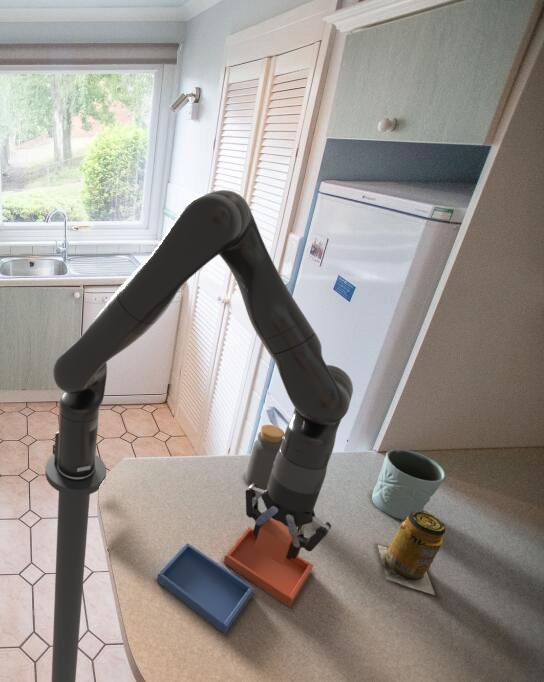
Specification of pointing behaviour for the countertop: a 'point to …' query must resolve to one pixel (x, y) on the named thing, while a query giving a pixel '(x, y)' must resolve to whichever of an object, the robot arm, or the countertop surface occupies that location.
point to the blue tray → (205, 587)
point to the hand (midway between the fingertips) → (273, 546)
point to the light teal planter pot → (406, 483)
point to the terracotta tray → (268, 569)
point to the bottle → (264, 456)
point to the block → (274, 540)
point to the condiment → (413, 551)
